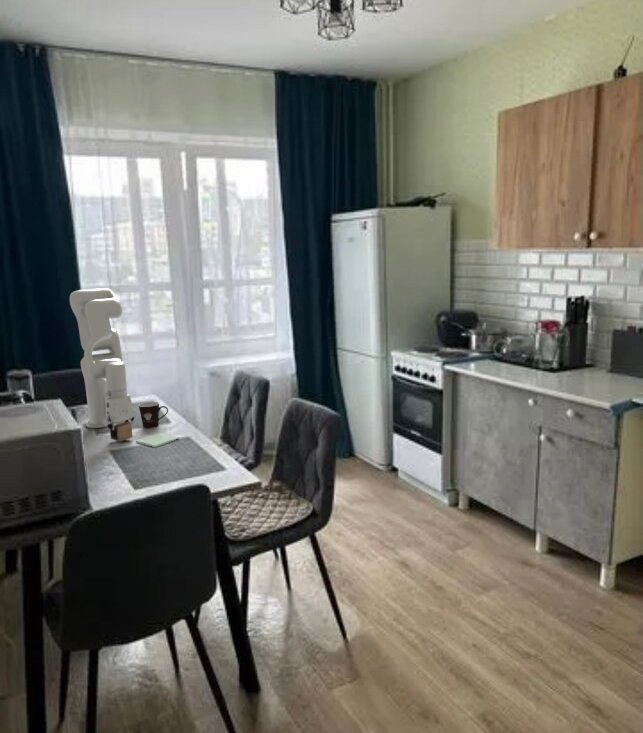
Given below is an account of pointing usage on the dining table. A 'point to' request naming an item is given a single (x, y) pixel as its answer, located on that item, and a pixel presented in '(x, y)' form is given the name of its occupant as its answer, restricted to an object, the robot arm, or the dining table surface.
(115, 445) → the dining table surface
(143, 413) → the coffee mug
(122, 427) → the walnut cube
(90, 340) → the robot arm
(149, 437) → the green tile
